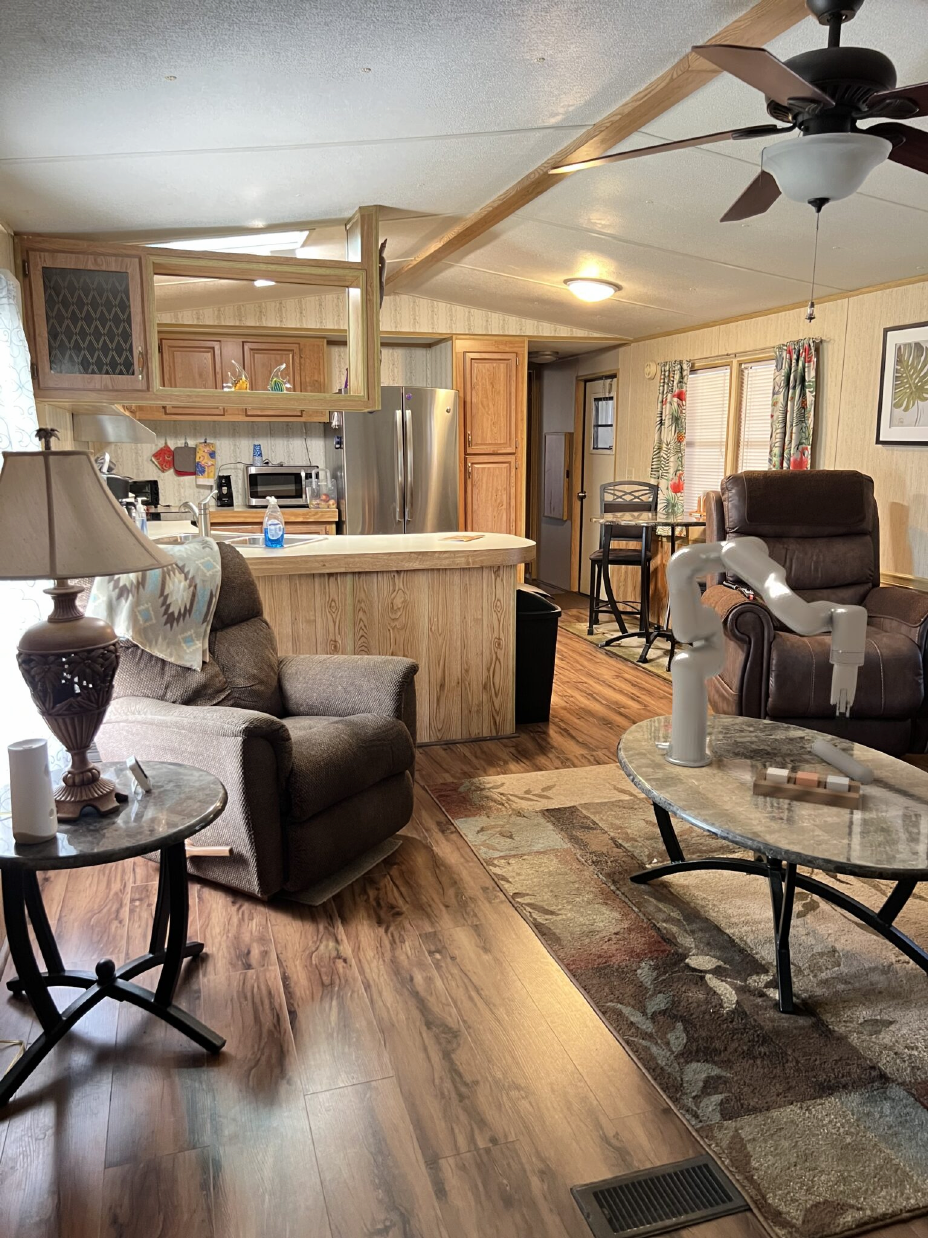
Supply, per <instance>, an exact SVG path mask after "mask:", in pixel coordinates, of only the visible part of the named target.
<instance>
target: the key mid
mask: <svg viewBox="0 0 928 1238" xmlns="http://www.w3.org/2000/svg"><path fill="white" fill-rule="evenodd" d="M796 773H797V777H796V785H800V786H807V787H814V788H817V787H818V776H819V775H820V774H819V773H814V772H805V771H799V770H798V771H797V772H796ZM819 777H820V776H819Z"/></svg>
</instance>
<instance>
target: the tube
mask: <svg viewBox="0 0 928 1238" xmlns="http://www.w3.org/2000/svg"><path fill="white" fill-rule="evenodd" d="M811 753H812V754H813V755H815V756H816V757H819V758H820V759H822V760H824V761H825V762H827V763H828V764H829V765H831V766H832V767H835V768H836V769H837V770H839V771H840V772H842V773H843V774H845V775H847V776H848V778H851V779H852V780H853V781H856V782H861V783H860V785H869V784H870V783H872V782H873V781H874V780H875V777H874V774H875V771H874V770H873V769H871V768H870V767H869V766H867V765H866V764H864V763H862V762H861V761H859V760H857V759H856V758H854V757H853V756H851V755H850V754H848V753H846V752H845V751H843V750H841V749H840V748H838V747H837V746H835V745H833V744H832V743H830V742H829V741H828V740H826V738H816V739H815V740H814V742H813V743H812V744H811Z"/></svg>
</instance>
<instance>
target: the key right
mask: <svg viewBox="0 0 928 1238" xmlns="http://www.w3.org/2000/svg"><path fill="white" fill-rule="evenodd" d="M849 781H850V777H843V776H838V775H837V776H835V775H829V774H828V775H827V786H826V789H829V790H836V791H843V792H848V786H849Z"/></svg>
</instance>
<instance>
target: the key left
mask: <svg viewBox="0 0 928 1238" xmlns="http://www.w3.org/2000/svg"><path fill="white" fill-rule="evenodd" d="M789 772H790V770H789V769H784V768H777V767H770V766H769V767H768V771H767V775H766V781H772V782H779V783H786V784H787V783H788V776H789Z"/></svg>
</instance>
